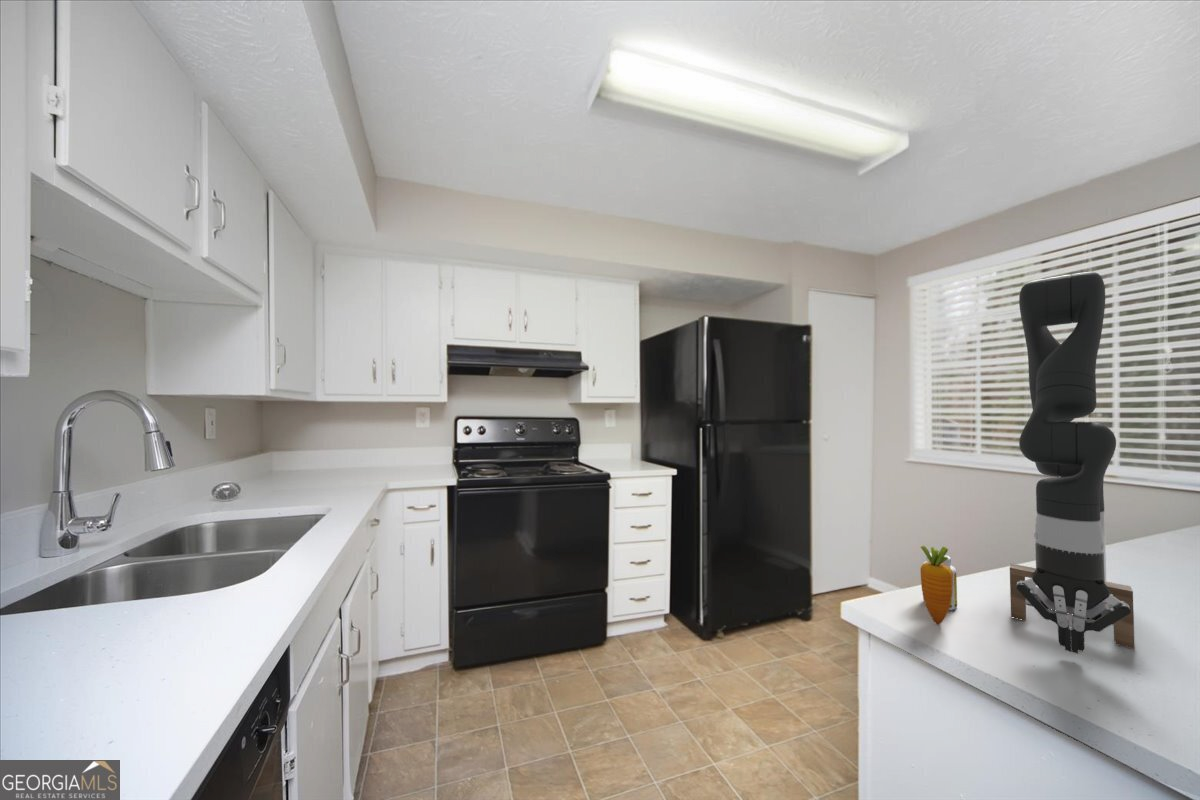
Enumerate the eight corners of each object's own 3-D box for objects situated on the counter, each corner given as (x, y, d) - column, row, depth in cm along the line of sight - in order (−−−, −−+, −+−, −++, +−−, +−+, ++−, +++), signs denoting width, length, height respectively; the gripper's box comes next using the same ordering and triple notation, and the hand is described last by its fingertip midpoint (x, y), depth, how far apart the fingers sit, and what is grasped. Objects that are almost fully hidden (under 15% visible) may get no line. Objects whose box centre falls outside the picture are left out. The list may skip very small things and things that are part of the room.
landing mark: (1025, 585, 96) (1025, 585, 96) (1107, 603, 87) (1107, 602, 87) (1023, 603, 88) (1023, 602, 88) (1114, 624, 79) (1114, 623, 79)
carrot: (915, 620, 82) (913, 543, 82) (932, 615, 83) (930, 539, 84) (943, 633, 77) (941, 551, 77) (961, 628, 79) (959, 547, 79)
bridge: (1011, 612, 84) (1010, 563, 84) (1132, 641, 73) (1130, 585, 74) (1010, 617, 82) (1009, 567, 82) (1134, 648, 71) (1132, 591, 71)
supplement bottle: (940, 598, 91) (938, 550, 91) (964, 610, 85) (963, 559, 85) (916, 599, 90) (915, 551, 90) (939, 612, 85) (938, 561, 85)
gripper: (1129, 547, 67) (1132, 657, 67) (1012, 530, 76) (1015, 626, 76) (1136, 560, 62) (1140, 679, 61) (1010, 540, 71) (1013, 643, 71)
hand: (1071, 649), depth 69 cm, fingers closed
